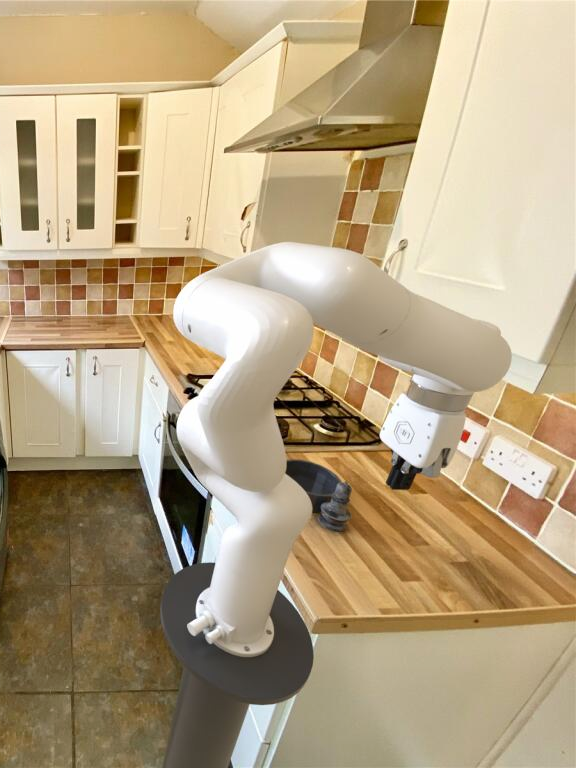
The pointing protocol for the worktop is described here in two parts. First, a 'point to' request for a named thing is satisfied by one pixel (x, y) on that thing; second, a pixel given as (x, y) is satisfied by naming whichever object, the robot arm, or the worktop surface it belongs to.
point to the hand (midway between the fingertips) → (397, 486)
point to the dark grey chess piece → (336, 509)
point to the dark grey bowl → (313, 481)
